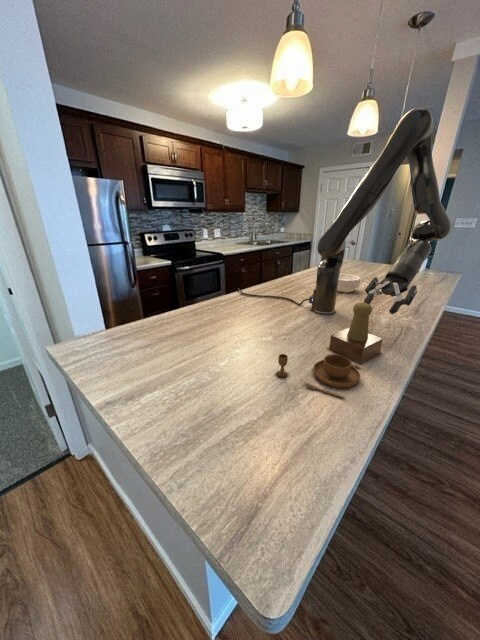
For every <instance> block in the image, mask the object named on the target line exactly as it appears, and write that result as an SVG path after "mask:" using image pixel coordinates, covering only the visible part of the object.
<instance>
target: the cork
mask: <svg viewBox="0 0 480 640" xmlns="http://www.w3.org/2000/svg"><path fill="white" fill-rule="evenodd" d="M352 312H353V315H352V319H351V322H350V325H349V327H348V328H349V331H348V334H347V337H348V338H350V339H352V340H355V341H366V340H367V339H368V333H369V324H370V323H369V320H370V319H369V318H370V315H371V314H372V312H373V307H372V305H371V304H367V303H364V302H356V303H355V304H354V305H353V306H352Z"/></svg>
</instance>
